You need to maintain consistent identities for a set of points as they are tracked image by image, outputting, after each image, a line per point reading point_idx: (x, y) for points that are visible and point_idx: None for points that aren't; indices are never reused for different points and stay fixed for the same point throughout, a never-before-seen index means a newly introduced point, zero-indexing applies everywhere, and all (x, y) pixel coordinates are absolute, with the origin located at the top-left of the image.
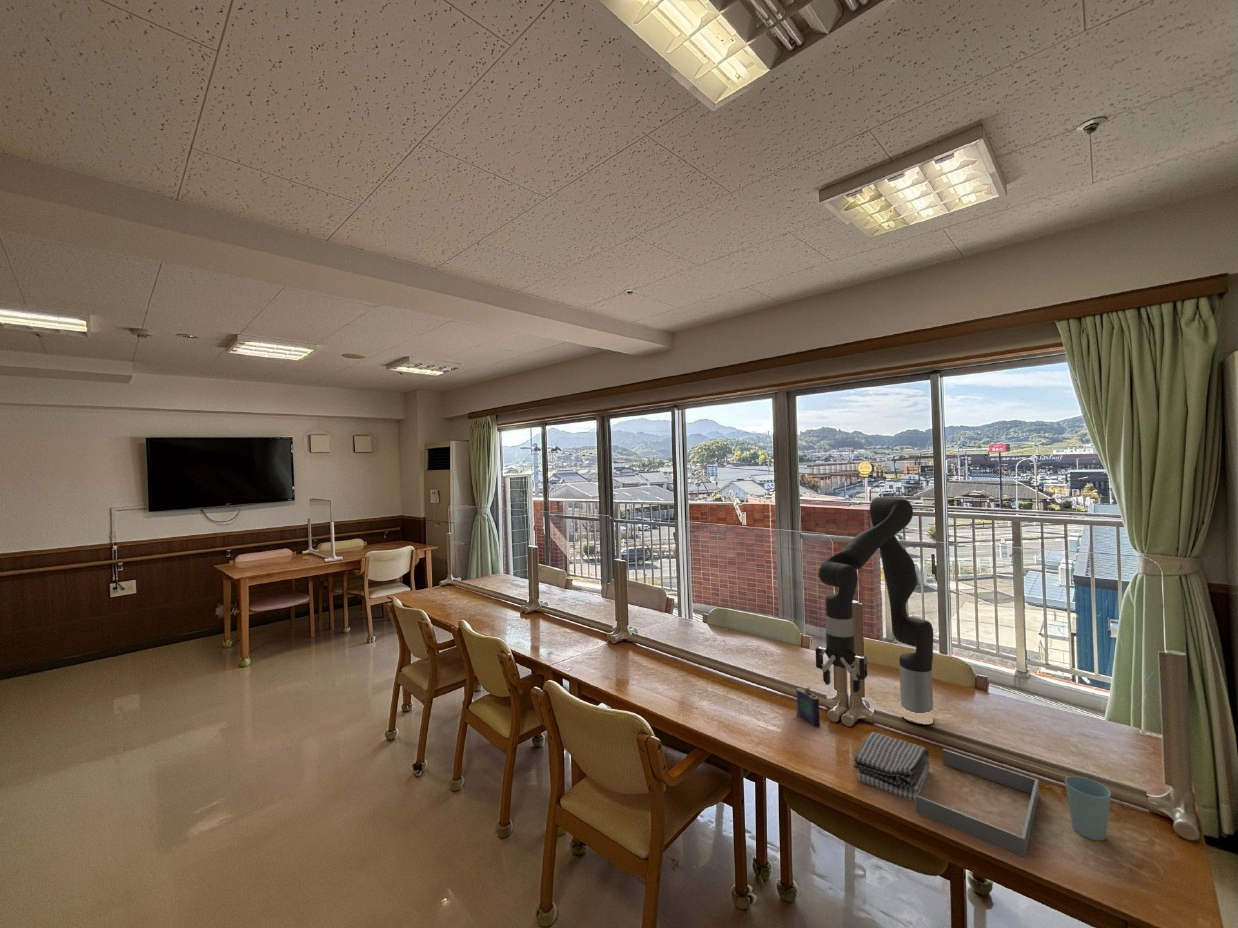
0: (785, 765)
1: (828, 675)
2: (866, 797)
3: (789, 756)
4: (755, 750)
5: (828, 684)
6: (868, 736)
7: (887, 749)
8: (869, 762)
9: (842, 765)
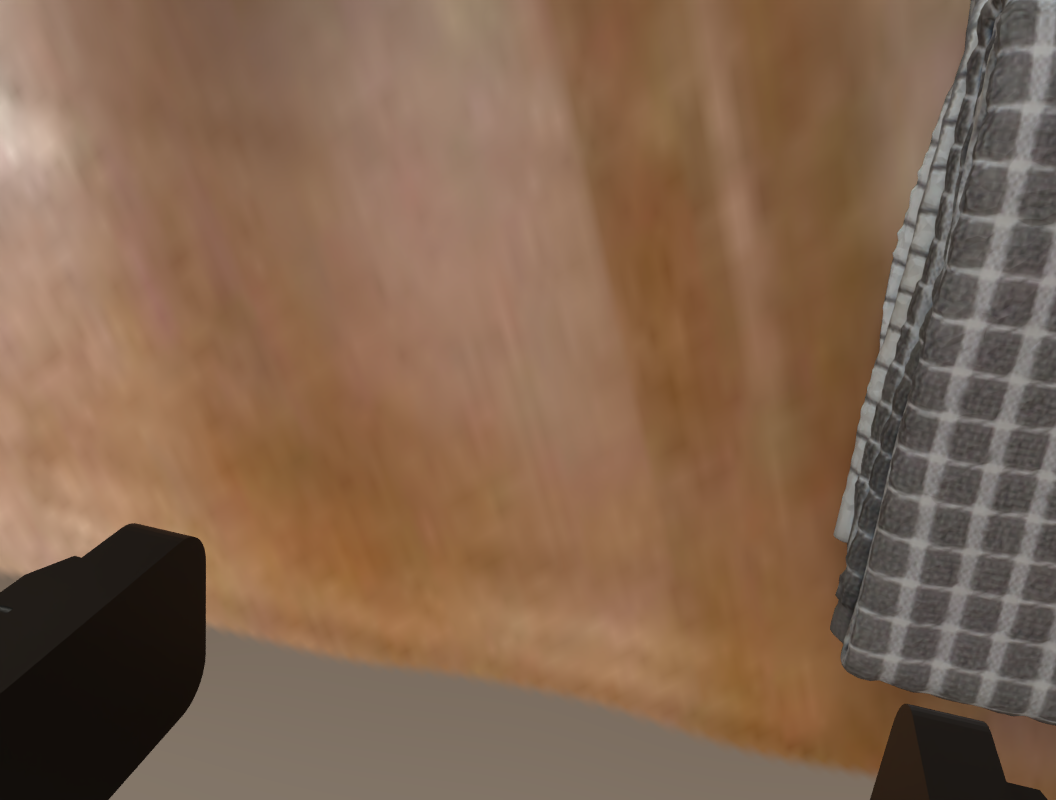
0: (320, 644)
1: (51, 770)
2: None
3: (296, 518)
4: None
5: (205, 637)
6: (971, 262)
7: None
8: (1000, 709)
9: (701, 439)
